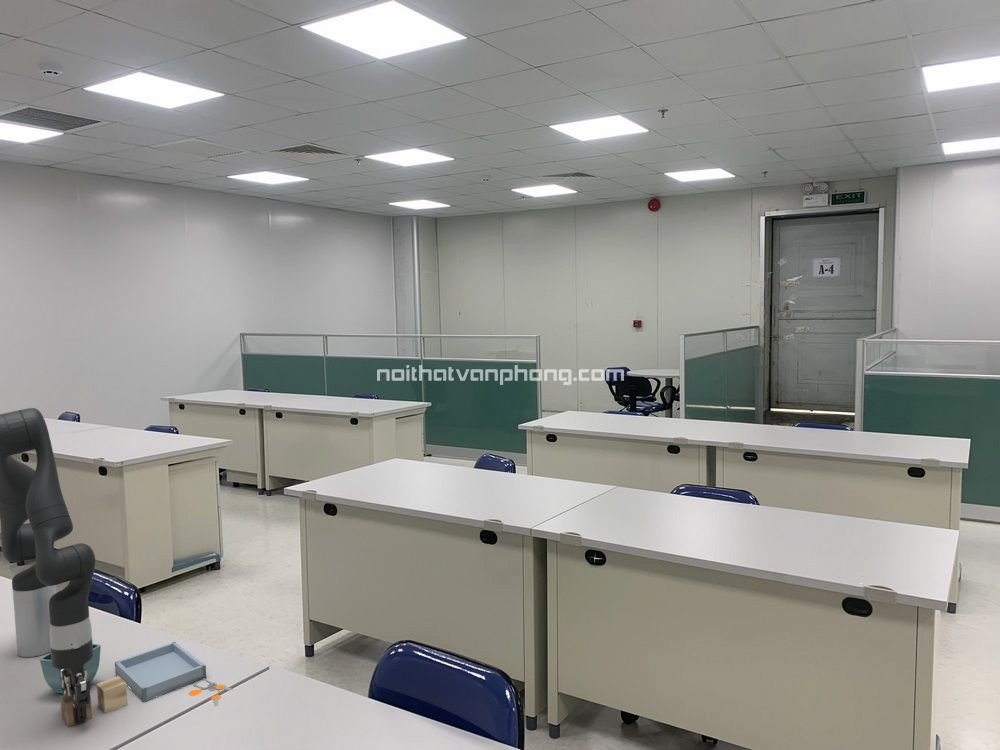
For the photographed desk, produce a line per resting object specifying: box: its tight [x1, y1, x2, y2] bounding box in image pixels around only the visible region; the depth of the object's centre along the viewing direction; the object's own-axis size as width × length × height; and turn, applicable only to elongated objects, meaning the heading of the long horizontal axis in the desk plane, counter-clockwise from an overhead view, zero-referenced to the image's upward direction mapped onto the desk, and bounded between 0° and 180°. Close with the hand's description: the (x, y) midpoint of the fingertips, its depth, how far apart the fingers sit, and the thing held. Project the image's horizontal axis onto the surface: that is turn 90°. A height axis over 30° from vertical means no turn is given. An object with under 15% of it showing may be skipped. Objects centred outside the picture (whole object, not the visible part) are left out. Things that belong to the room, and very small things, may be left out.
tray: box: [114, 641, 207, 703], centre depth 165 cm, size 18×14×3 cm
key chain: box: [188, 678, 234, 707], centre depth 158 cm, size 13×7×1 cm, turn 57°
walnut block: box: [59, 694, 93, 728], centre depth 148 cm, size 4×4×5 cm
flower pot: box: [39, 643, 102, 694], centre depth 160 cm, size 9×9×9 cm
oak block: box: [96, 676, 128, 714], centre depth 153 cm, size 4×4×5 cm
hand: (76, 716), depth 148 cm, fingers closed on walnut block, 4 cm apart
